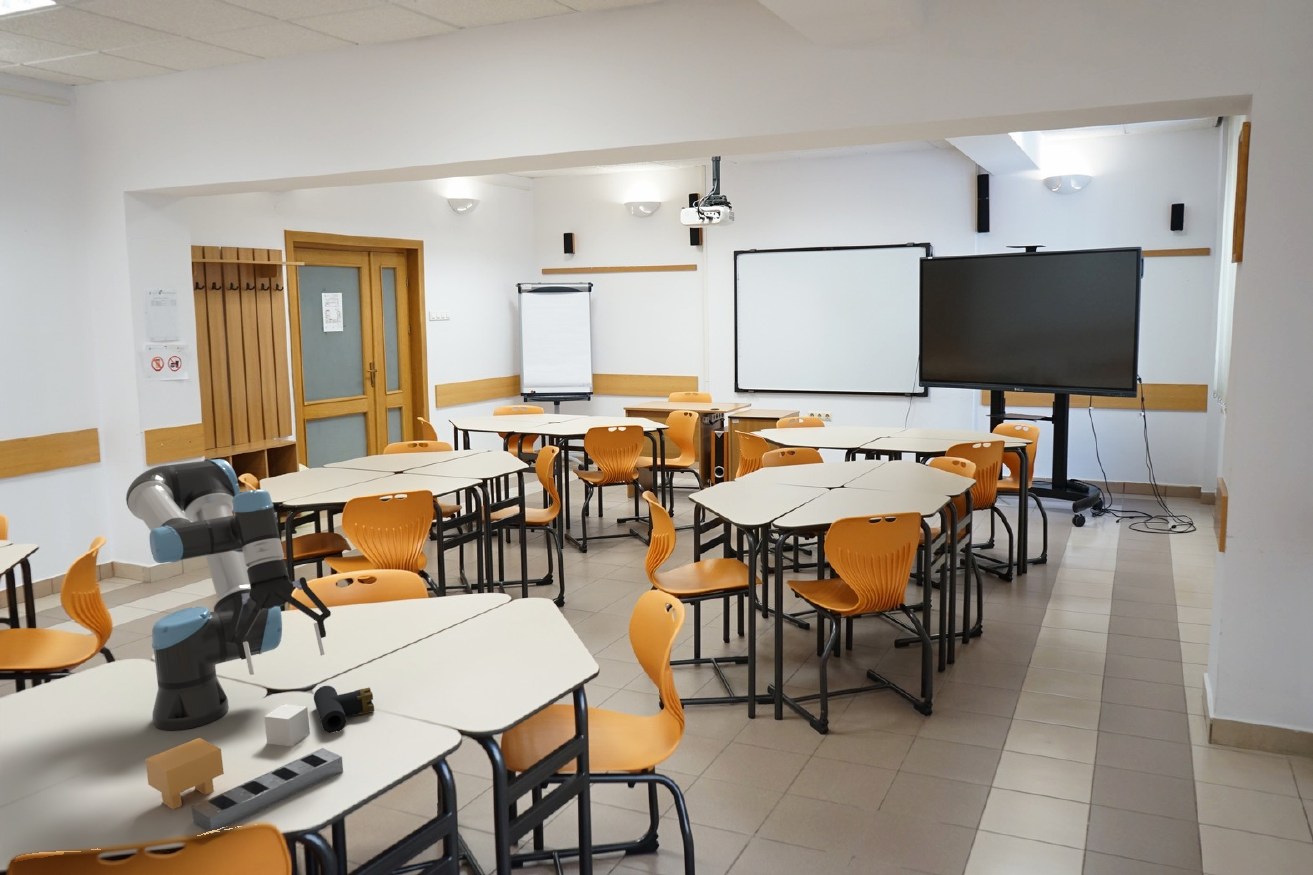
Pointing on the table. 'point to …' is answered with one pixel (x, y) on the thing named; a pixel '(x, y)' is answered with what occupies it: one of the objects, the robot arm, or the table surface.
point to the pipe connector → (341, 706)
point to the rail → (266, 790)
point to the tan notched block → (184, 770)
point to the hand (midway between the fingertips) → (287, 664)
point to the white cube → (287, 725)
